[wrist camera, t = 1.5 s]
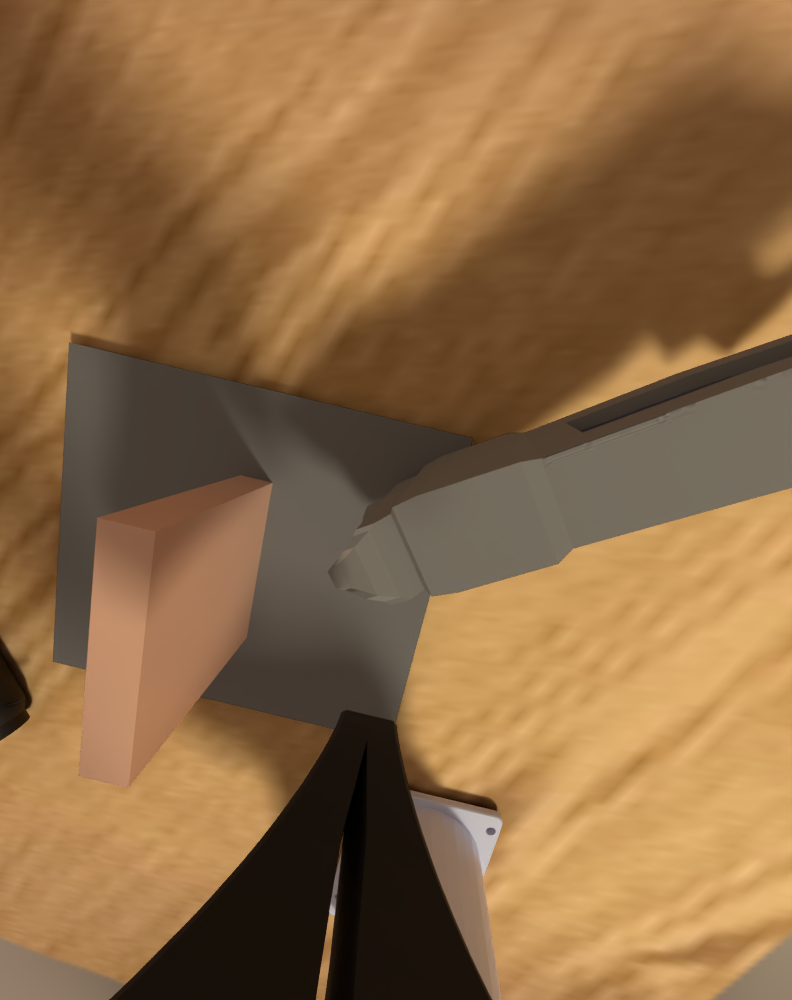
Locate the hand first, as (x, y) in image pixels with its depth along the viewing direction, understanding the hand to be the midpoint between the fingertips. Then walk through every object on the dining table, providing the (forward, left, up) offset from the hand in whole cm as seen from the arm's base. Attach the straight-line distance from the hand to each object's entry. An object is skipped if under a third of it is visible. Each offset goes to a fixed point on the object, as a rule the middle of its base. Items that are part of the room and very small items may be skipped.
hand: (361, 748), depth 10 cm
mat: (0, +7, -9) cm, 12 cm away
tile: (0, +7, -9) cm, 11 cm away
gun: (+11, -9, -9) cm, 17 cm away
